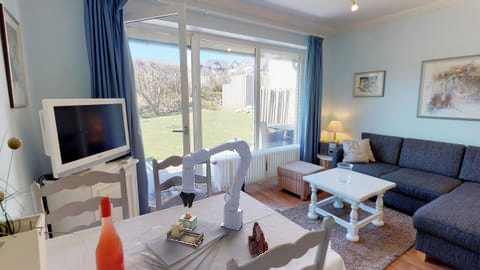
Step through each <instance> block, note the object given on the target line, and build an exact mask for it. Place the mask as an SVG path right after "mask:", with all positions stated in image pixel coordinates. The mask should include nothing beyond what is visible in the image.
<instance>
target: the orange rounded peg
mask: <svg viewBox="0 0 480 270" xmlns="http://www.w3.org/2000/svg"><path fill="white" fill-rule="evenodd" d="M184 214H185V219H190V216H191V215H192V214H191V212H189V211H188V212H187V211H186V212H184Z"/></svg>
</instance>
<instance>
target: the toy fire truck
mask: <svg viewBox="0 0 480 270" xmlns="http://www.w3.org/2000/svg"><path fill="white" fill-rule="evenodd" d="M247 244H248V246H249V247H250V253H251V254H256V251H257V252H258V253H266V252H265V251H267V250H268V251H269V244H268V242H267V241H266V238H265V234H264V232H263V230H262V228H261V226H260V224H259V222H258V221H255V222H253V226H252V234H251V235H248V236H247Z"/></svg>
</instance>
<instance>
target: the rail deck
mask: <svg viewBox="0 0 480 270" xmlns="http://www.w3.org/2000/svg"><path fill="white" fill-rule="evenodd" d="M183 232H184V235H183V236H182V237H181V238H176V237H172V236H171V233H172V228H170V229H169V230H168V231H167V232H166V240H168V239H173V240H178V241H184V242H188V243H192V244H196V245H198V243H199V242H200V241H201V240H202V239H203V237H204V235H205V234H204V232H201V233H199V232H195V231H194V232H193V231H189V230H185V229H183ZM204 238H205V237H204ZM203 240H204V239H203ZM203 240H202V241H203ZM198 246H199V245H198Z"/></svg>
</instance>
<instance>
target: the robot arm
mask: <svg viewBox="0 0 480 270" xmlns="http://www.w3.org/2000/svg"><path fill="white" fill-rule="evenodd" d="M225 151H229V152H234V151H235V152H236V153H237V154H238V156H239V157H240V159H239V162H238V166H237V168H236V171H235V174H234V177H233V180H232V183H231V185H230V187H229V188H228V190H227V191H226V193H225V194H224V196H223V199H224V202H225V204H224V206H223V221H222V222H221V224H220V225H221V226H225V227H226V228H227V229H231V230H235V231H239V230H240V229H241V226H242V225H243V223H244V209H242V208H240V198H241V197H240V196H241V190H242V188H243V184H244V182H245V179H246V176H247V174H248V173H247V172H248V171H249V168H250V165H251V162H252V152H251V147H250V145H249V144H248V143H247V141H246V140H244V139H243V138H242V137H238V136H237V137H234V138H231V139H227V140H226V141H224V142H221V143H220V144H217V145H215V146H212V147H211V148H206V147H201V148H199V149H198V150H196V151H194V152H192V151H191V152H189V153H186V154H185V155H184V156H183V157H182V159H181V160H182V161H181V164H182V167H181V168H182V170H181V173H182V174H181V185H175V186H174V187H173V191H174V192H176V191H177V192H180V193H179V197H180V199H181V201H182V203H183V207H184V208H186V207H188V209H191V208H192V207H193V203H194V200H195V199H196V195H197V196H201V197H202V196H203V195H204V190H203V189H199V188H196V187H195V181H196V180H195V177H196V176H195V171H196V170H195V166H196V165H199V164H201V163H203V162H205V161H208V160H210V159H211V156H214V155H216V154H219V153H220V154H221V153H222V152H225ZM221 226H220V227H221ZM225 227H224V228H225Z"/></svg>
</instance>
